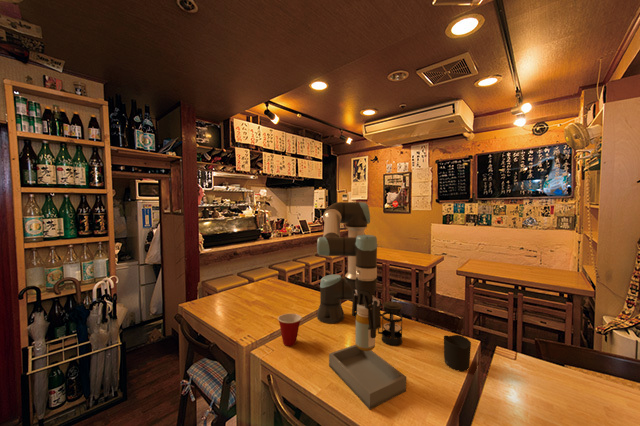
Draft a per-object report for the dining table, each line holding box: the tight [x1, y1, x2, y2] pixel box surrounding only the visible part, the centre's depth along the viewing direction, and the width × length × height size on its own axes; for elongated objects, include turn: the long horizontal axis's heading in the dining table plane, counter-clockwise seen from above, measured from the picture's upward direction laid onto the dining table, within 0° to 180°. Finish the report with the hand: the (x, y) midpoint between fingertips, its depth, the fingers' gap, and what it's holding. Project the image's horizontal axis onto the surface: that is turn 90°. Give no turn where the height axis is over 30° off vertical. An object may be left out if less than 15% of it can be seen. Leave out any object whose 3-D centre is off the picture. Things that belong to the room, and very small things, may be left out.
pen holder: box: [443, 334, 472, 372], centre depth 99 cm, size 9×9×10 cm
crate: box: [328, 344, 407, 410], centre depth 92 cm, size 16×24×5 cm, turn 29°
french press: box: [377, 290, 404, 347], centre depth 117 cm, size 12×9×23 cm
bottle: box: [355, 304, 376, 351], centre depth 91 cm, size 7×7×15 cm
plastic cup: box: [277, 313, 302, 347], centre depth 115 cm, size 11×11×12 cm
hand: (365, 341), depth 91 cm, fingers closed on bottle, 6 cm apart
